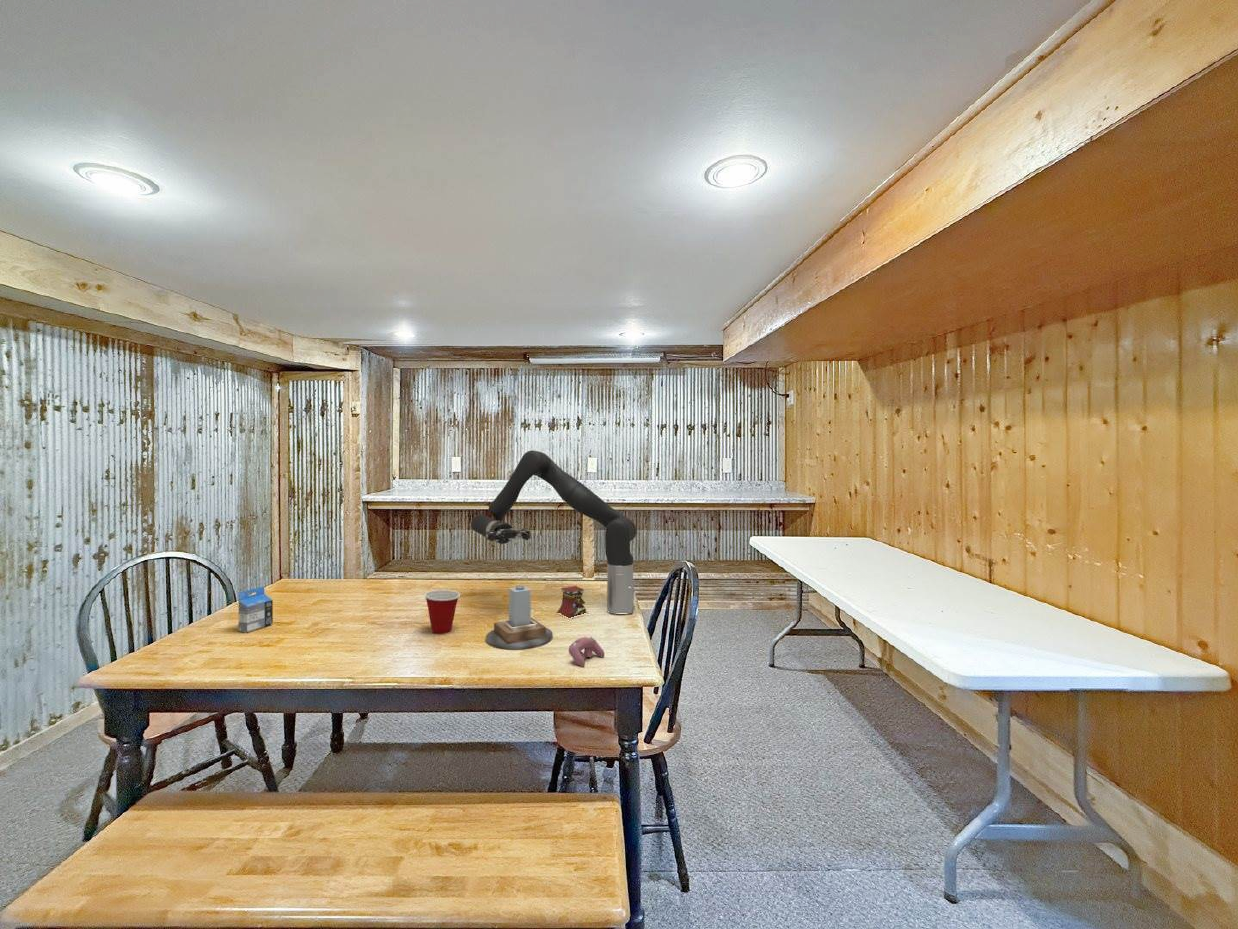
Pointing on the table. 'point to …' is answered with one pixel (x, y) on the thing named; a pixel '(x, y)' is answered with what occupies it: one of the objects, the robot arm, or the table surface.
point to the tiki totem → (572, 602)
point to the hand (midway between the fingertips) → (515, 538)
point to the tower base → (517, 645)
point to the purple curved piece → (587, 645)
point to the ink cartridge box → (254, 610)
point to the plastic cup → (441, 609)
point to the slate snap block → (519, 606)
